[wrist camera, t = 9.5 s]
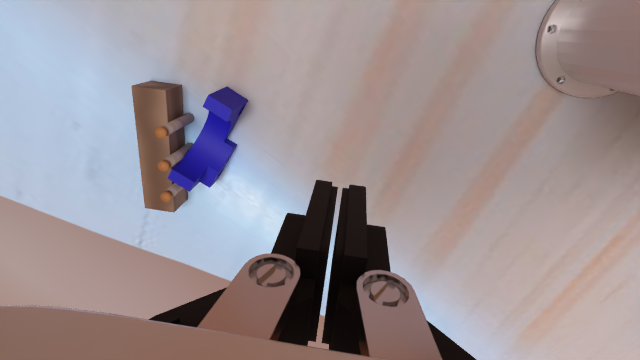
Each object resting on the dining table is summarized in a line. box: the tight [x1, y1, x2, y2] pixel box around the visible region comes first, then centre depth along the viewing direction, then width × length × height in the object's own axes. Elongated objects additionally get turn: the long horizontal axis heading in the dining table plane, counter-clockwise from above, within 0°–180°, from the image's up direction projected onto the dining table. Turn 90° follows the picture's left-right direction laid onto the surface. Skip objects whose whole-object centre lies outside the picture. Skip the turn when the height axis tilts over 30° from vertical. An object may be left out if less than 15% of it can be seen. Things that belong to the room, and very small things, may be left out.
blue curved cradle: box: [167, 87, 248, 191], centre depth 42 cm, size 12×4×6 cm, turn 147°
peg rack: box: [132, 81, 194, 212], centre depth 43 cm, size 5×16×7 cm, turn 173°
